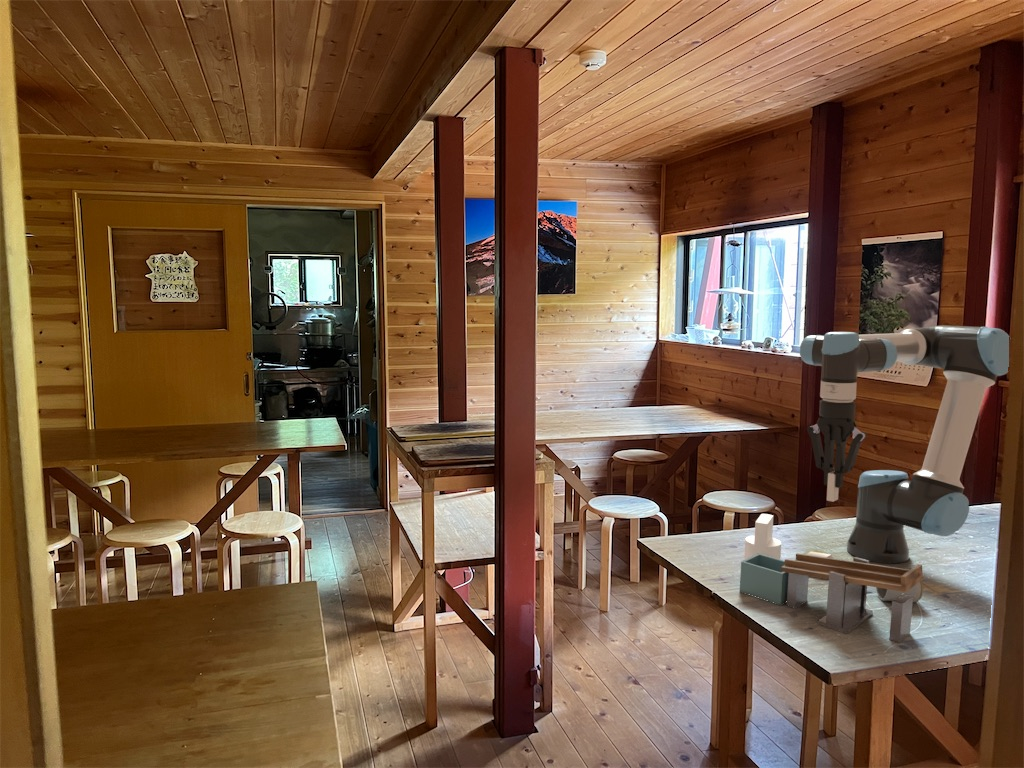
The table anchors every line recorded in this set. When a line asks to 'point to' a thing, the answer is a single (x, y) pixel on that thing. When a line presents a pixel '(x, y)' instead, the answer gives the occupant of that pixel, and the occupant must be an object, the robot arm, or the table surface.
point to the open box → (764, 578)
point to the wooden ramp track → (854, 571)
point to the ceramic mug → (892, 594)
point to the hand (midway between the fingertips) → (832, 499)
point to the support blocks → (850, 604)
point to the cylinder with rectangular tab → (763, 539)
